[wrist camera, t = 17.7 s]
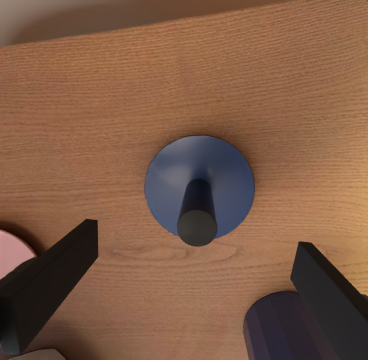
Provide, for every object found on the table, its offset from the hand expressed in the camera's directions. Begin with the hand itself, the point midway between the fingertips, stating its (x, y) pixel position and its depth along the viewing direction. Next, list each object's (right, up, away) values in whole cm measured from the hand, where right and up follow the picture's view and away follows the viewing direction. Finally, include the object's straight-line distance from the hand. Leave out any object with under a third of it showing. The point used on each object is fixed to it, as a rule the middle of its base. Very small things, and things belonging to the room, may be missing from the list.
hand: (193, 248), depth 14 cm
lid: (+1, +3, +13) cm, 13 cm away
